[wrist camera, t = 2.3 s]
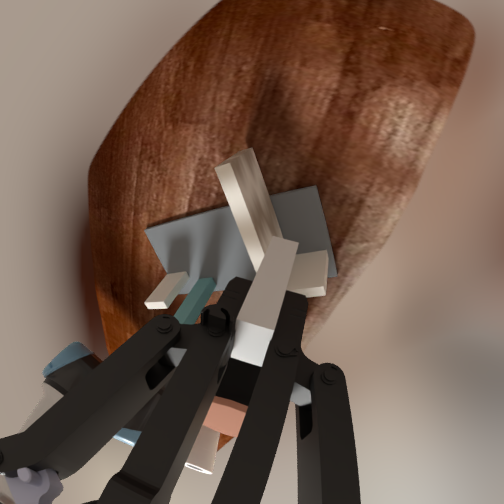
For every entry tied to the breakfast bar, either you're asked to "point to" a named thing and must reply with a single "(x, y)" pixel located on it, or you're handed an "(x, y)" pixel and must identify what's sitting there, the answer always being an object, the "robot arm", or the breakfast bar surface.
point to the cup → (204, 451)
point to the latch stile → (195, 301)
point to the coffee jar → (232, 397)
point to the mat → (237, 239)
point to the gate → (249, 203)
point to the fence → (301, 281)
